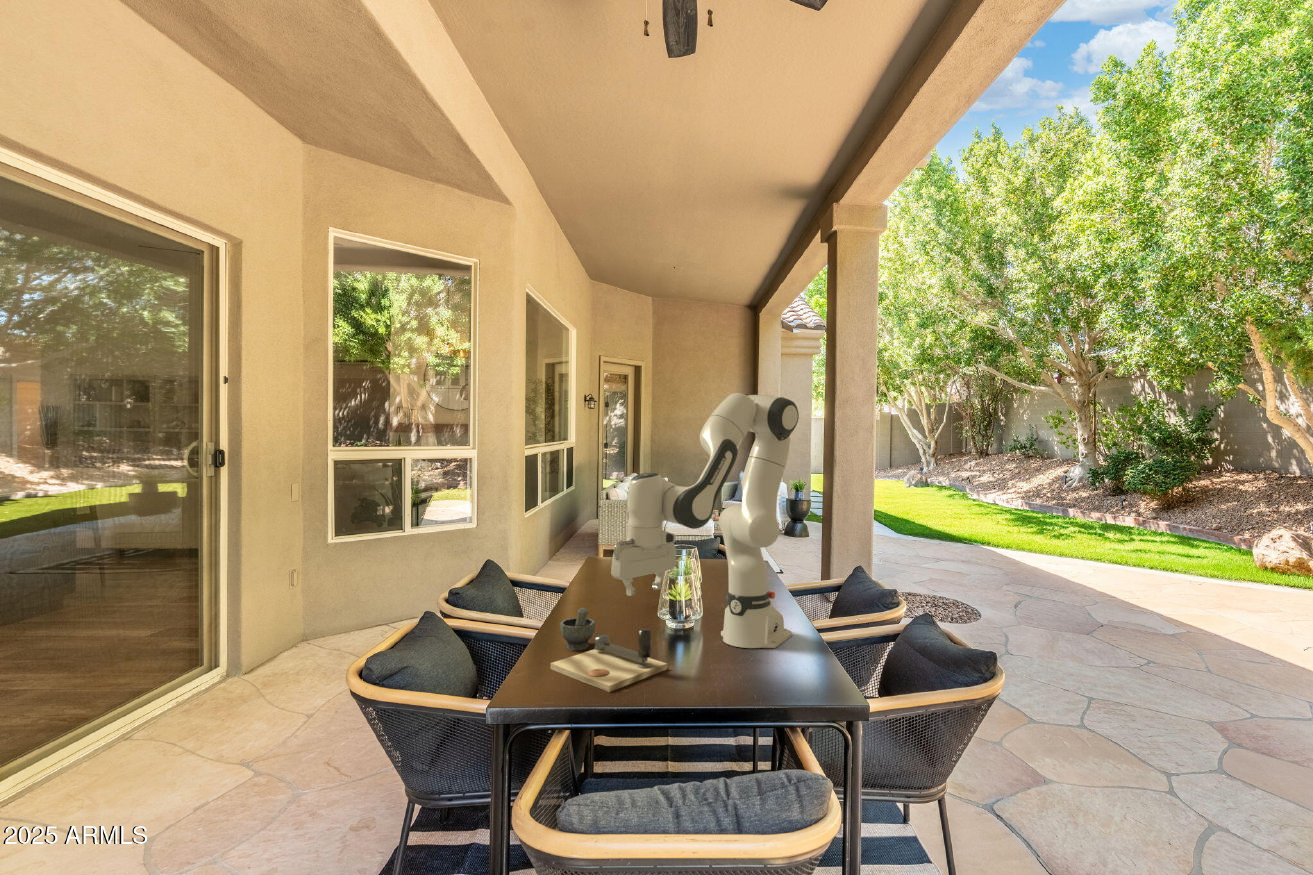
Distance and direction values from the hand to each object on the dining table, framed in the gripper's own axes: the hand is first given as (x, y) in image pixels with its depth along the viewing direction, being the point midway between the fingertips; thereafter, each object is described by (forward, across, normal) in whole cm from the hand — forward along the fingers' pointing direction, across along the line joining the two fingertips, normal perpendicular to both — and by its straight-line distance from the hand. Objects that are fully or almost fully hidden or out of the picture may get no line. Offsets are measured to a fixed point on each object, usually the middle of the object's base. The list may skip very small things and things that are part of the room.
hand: (644, 592), depth 160 cm
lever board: (+20, -5, +8) cm, 22 cm away
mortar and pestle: (+20, +1, +27) cm, 34 cm away
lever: (+18, 0, +8) cm, 19 cm away
